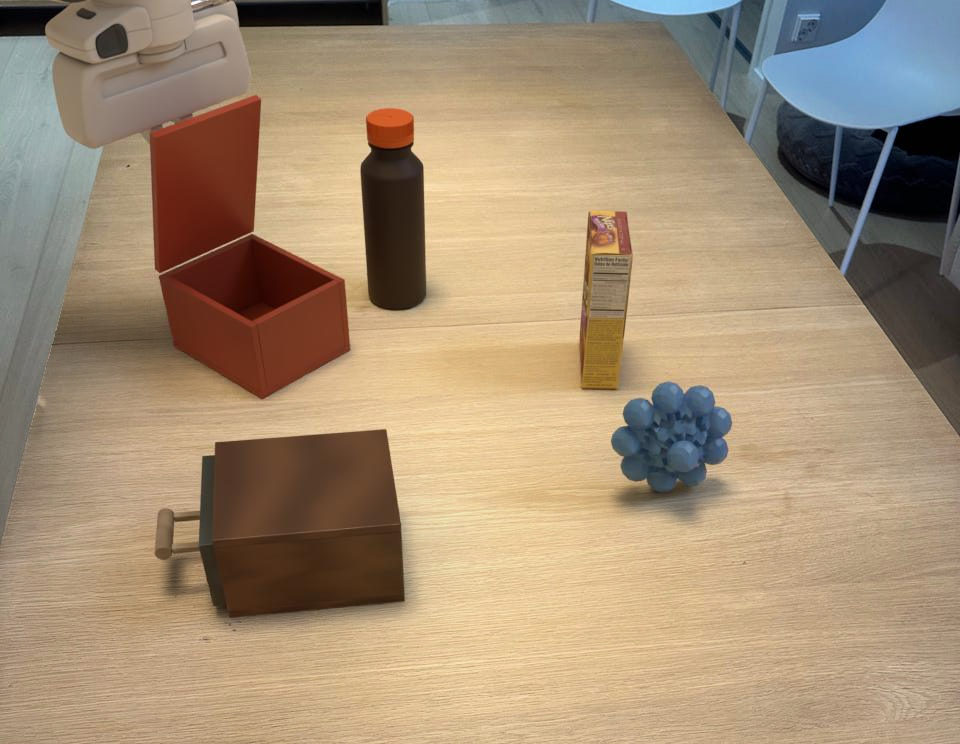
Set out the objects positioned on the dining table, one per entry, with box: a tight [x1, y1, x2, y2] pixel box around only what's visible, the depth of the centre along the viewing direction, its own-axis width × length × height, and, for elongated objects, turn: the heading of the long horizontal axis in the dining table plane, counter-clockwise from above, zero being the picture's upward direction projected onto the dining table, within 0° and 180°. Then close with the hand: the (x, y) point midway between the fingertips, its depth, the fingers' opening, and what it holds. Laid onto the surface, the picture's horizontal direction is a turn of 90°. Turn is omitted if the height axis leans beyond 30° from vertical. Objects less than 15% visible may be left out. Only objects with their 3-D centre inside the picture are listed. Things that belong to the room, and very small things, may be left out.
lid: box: [149, 94, 262, 274], centre depth 106 cm, size 15×13×1 cm
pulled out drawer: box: [154, 454, 227, 607], centre depth 89 cm, size 18×11×7 cm, turn 99°
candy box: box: [578, 210, 634, 390], centre depth 108 cm, size 9×4×15 cm, turn 178°
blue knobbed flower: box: [610, 381, 733, 494], centre depth 95 cm, size 12×7×12 cm, turn 103°
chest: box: [158, 233, 351, 399], centre depth 112 cm, size 15×13×8 cm
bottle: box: [359, 107, 427, 310], centre depth 116 cm, size 7×7×20 cm
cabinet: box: [212, 428, 406, 618], centre depth 89 cm, size 15×13×9 cm
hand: (174, 163), depth 107 cm, fingers closed
